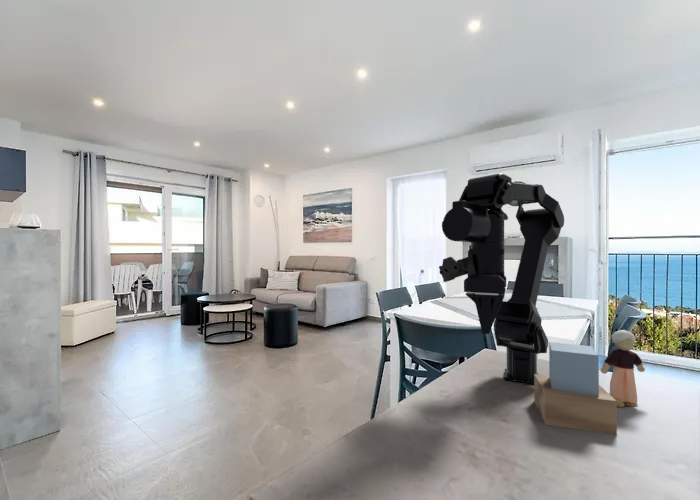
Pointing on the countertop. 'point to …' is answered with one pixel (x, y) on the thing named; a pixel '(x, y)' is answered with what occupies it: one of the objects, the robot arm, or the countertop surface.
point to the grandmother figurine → (623, 369)
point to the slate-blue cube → (574, 368)
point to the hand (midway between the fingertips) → (487, 328)
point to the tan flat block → (575, 408)
